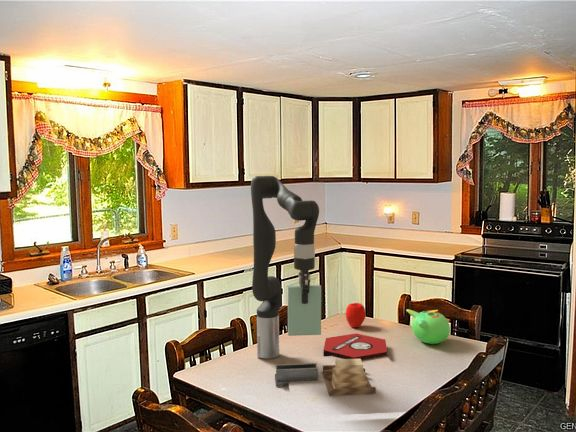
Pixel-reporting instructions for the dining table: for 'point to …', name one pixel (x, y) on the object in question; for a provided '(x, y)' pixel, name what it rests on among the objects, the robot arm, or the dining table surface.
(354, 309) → the apple
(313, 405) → the dining table surface
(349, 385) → the block
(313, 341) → the dining table surface
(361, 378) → the block
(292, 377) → the stand
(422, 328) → the toy bird
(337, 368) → the offcut top
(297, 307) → the panel
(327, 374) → the rack
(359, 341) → the plaque
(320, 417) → the dining table surface
